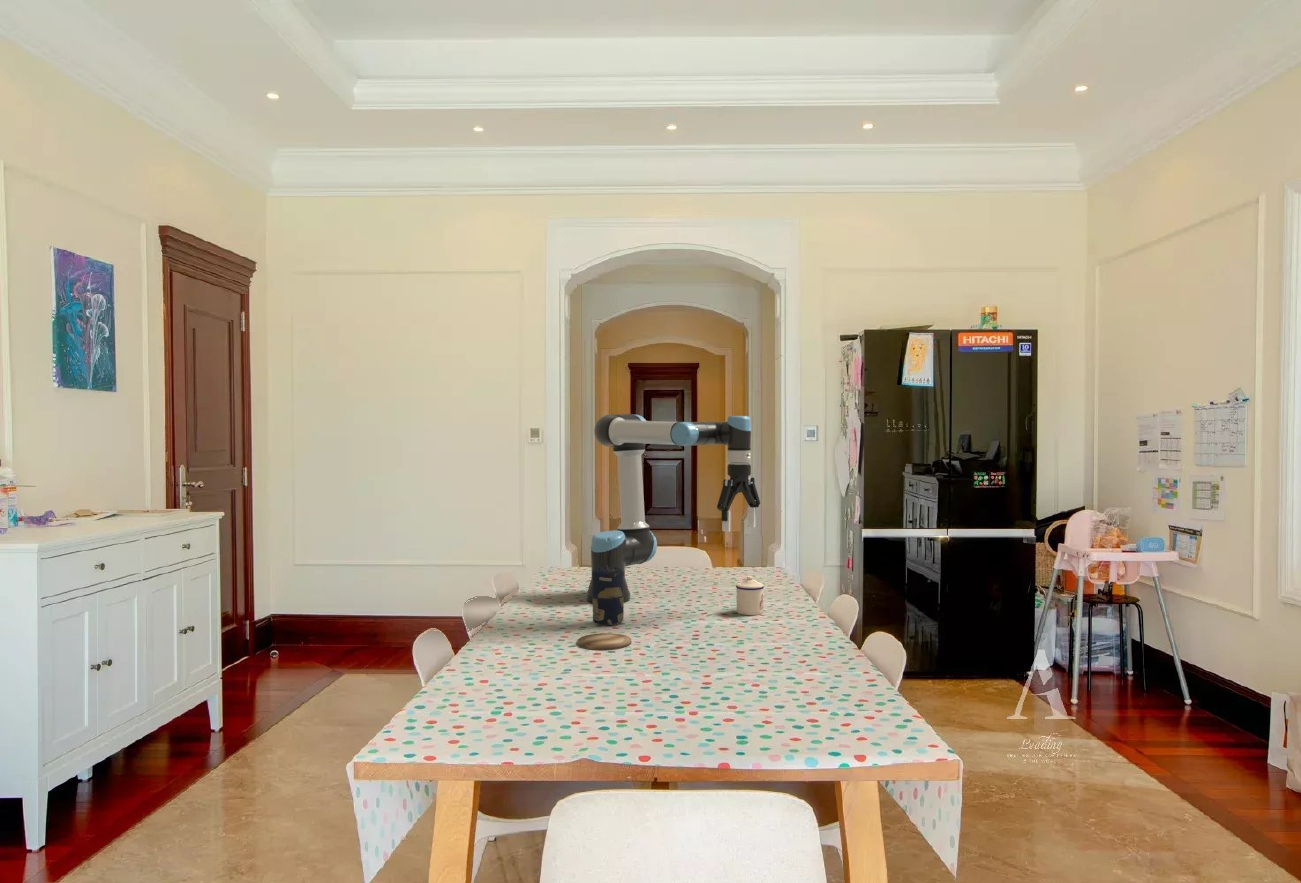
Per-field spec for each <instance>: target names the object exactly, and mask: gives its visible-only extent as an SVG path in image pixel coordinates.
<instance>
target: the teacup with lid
mask: <svg viewBox="0 0 1301 883" xmlns="http://www.w3.org/2000/svg"><path fill="white" fill-rule="evenodd" d="M735 588H736V613H738V614H739V615H742V616H743V615H744V616H758V615H762V614H763V613H764V588H765V586H764V583H763V582H759V581H757V580H756V579H754V577H753V576H751V575H748V576H747V577H746V579H744V580H742V581H740V582H738V583H736V584H735Z"/></svg>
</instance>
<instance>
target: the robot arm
mask: <svg viewBox="0 0 1301 883" xmlns="http://www.w3.org/2000/svg"><path fill="white" fill-rule="evenodd" d="M751 425H752V422H751V418H750V416H749V415H729V416H728V417H727V421H709V420H708V421H665V420H664V421H662V420H661V421H659V420H657V421H654V420H646V419H645V418H644V417H643V416H642V415H639V414H633V413H628V414H627V413H620V414H619V413H618V414H613V413H612V414H605V415H603V416H601V417H600V418H598V420H597V421H596V422H595V425H594V429H593V431H594V432H593V433H594V437H595V439H596V440H597V442H598V443H600V444H601V445H602V446H605V447H609V448H612V453H613V454H614V455H615V456H617V468H618V471H617V472H618V487H619V490H618V491H619V503H620V504H619V505H620V520H621V521H620V524H619V526H617V530H607V531H606V530H604V531H601V532H597V533H595V534H594V535H592V537H591V540H590V541H591V545H590V553H591V554H590V560H591V561H590V562H591V565H590V567H591V573H592V572H593V570H594V569H595V568H598V567H606V565H608V567H618V568H621V569H622V571H623V601H624V603H626V602H629V601H630V600H631V592H630V590H629V587H628V583H627V580H626V567H629V566H634V565H642V564H644V563H647V562H649V561H651V560H652V559H653V558H654V556H655V555H656V553H657V548H658V542H657V538H656V536H655V535H654V533H653V532H652V531H651V530H650V524H648V523H647V522H646V515H645V500H644V498H645V497H644V483H643V482H644V481H643V464H642V463H643V462H642V456H643V454H644V453H645V451H646V444H649V445H650V444H651V445H653V444H654V445H671V446H672V445H673V446H674V445H675V446H682V447H690V446H708V445H710V446H713V445H716V446H718V445H719V446H720V445H721V446H722V445H725V446H727V451H726V452H727V455H726V456H727V457H726V458H727V460H726V462H727V463H728V464H727V476H729V477H730V478H729V479H728V478H727V479H726V478H724V479H723V481H722V489H721V491H720V492H721V493H720V496H719V499H718V502H717V506H716V509H717V510H718V511H721V532H728V533H730V532H731V510H730V508H731V506H732V504H733V501H734V499H735V498H736V496H737V495H739V493H742V495H743V497H744V500H745V501H746V502H747V504H748V506H747V510H746V512H747V513H746V514H747V515H746V516H747V518H746V520H747V522H746V523H747V527H748V528H756V515H757V512H756V511H757V508H759V506H760V504H761V500H760V497H759V494H758V490H757V487H756V483H755V482H756V481H755V477H751V474H752V465H751V464H750V463H751V460H752V459H751V458H752V457H751V456H752V455H751V449H752V448H751V446H752V445H751V444H752V443H751V440H752V439H751V438H752V426H751ZM586 601H587V602H589V603H592V604H593V593H592V577H591V578H590V582H589V585H588V589H587V592H586Z"/></svg>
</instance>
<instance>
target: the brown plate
mask: <svg viewBox="0 0 1301 883" xmlns="http://www.w3.org/2000/svg"><path fill="white" fill-rule="evenodd" d="M631 644H632V638H631V637H630V636H628V635H626V634H621V633H611V632H609V633H608V632H607V633H605V632H603V633H602V632H601V633H600V632H599V633H591V634H587V635H584V636H582V637H579V638H578V639H577V645H578V646H579V647H581V648H583V649H586V650H593V651H612V650H620V649H623V648H626V647H628V646H630V645H631Z"/></svg>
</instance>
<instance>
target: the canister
mask: <svg viewBox="0 0 1301 883" xmlns="http://www.w3.org/2000/svg"><path fill="white" fill-rule="evenodd" d="M591 578H592V593H593V603H592V621H593V623H595V624H597V625H600V626H601V625H602V626H612V625H618V624H621V623H623V621H624V616H625V615H624V613H625V612H624V610H625V609H624V607H625V606H624V603H625V602H624V601H623V571H622V569H621V568H618V567H608V565H606V567H598V568H595V569H594V570H593V572H592V571H591Z"/></svg>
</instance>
